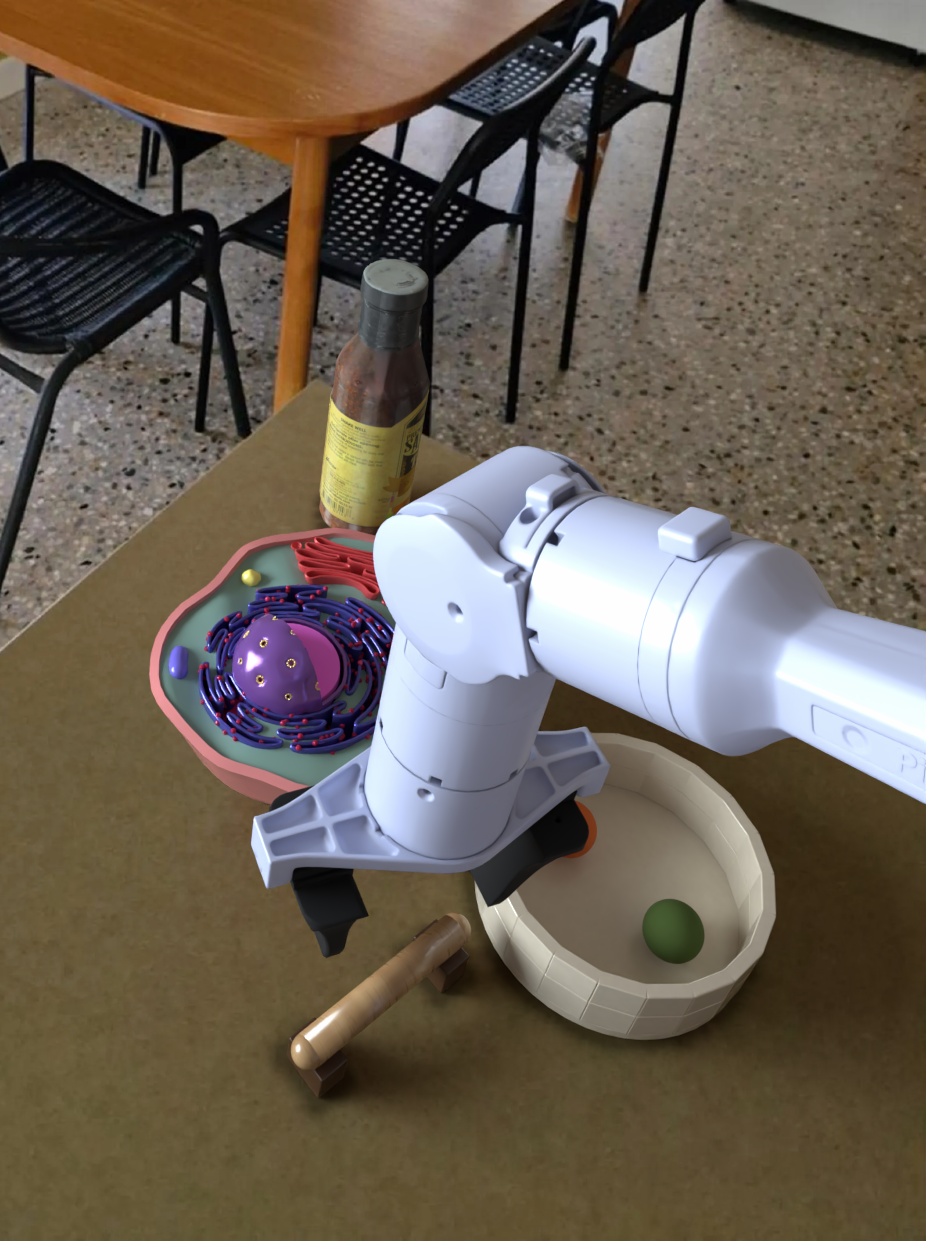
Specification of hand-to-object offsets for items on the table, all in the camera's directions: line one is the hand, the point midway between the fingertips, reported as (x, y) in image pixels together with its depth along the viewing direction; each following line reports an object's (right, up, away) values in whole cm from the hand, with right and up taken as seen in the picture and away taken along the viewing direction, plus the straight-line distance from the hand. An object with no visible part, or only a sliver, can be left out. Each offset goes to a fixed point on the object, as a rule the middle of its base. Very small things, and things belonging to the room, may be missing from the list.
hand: (405, 909), depth 55 cm
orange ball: (+10, -1, +13) cm, 16 cm away
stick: (-1, -6, +5) cm, 8 cm away
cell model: (-3, +2, +19) cm, 19 cm away
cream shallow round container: (+12, -5, +12) cm, 18 cm away
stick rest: (-1, -8, +6) cm, 10 cm away
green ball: (+14, -5, +9) cm, 18 cm away
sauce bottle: (0, +13, +33) cm, 36 cm away
